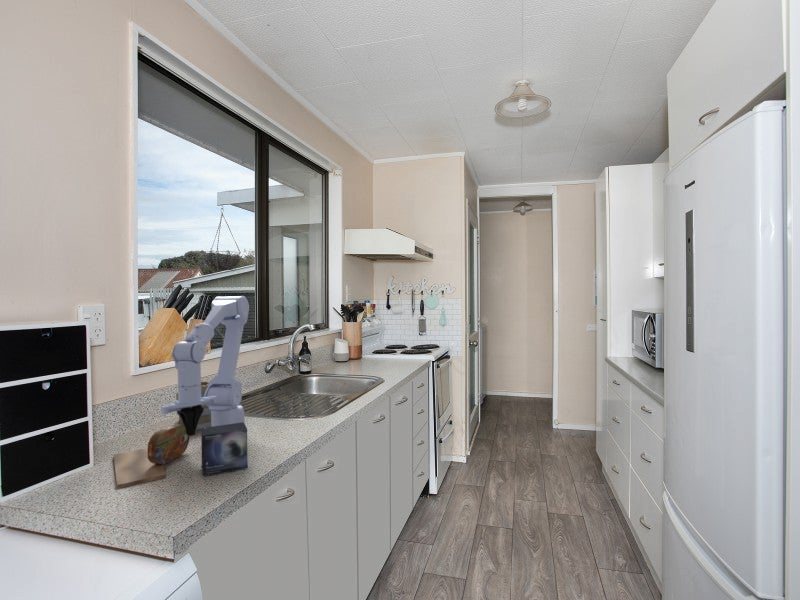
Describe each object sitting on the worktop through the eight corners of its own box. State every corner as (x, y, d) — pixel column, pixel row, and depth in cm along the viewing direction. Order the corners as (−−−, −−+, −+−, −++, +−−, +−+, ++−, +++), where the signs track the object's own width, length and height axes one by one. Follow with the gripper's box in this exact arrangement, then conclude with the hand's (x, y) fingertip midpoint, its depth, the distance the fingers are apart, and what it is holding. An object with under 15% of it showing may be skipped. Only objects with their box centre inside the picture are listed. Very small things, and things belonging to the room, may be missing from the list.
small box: (203, 478, 108) (201, 434, 108) (201, 468, 114) (200, 427, 113) (248, 469, 113) (247, 427, 112) (244, 460, 118) (243, 421, 118)
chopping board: (155, 449, 128) (154, 446, 128) (165, 477, 108) (165, 474, 108) (113, 457, 122) (113, 454, 122) (117, 488, 103) (117, 484, 103)
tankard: (182, 433, 143) (181, 386, 142) (171, 425, 152) (170, 381, 152) (243, 420, 156) (242, 377, 156) (230, 413, 165) (229, 373, 165)
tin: (154, 468, 111) (158, 434, 112) (142, 467, 111) (146, 433, 112) (189, 451, 126) (192, 421, 126) (178, 450, 126) (181, 420, 127)
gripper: (207, 379, 130) (209, 425, 131) (155, 388, 119) (156, 438, 119) (220, 381, 126) (221, 429, 126) (167, 391, 115) (168, 443, 115)
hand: (191, 434), depth 122 cm, fingers closed
